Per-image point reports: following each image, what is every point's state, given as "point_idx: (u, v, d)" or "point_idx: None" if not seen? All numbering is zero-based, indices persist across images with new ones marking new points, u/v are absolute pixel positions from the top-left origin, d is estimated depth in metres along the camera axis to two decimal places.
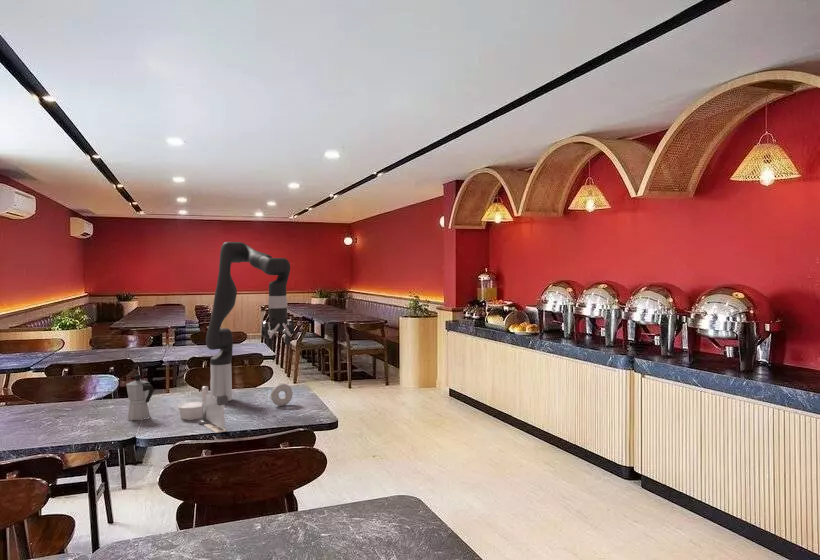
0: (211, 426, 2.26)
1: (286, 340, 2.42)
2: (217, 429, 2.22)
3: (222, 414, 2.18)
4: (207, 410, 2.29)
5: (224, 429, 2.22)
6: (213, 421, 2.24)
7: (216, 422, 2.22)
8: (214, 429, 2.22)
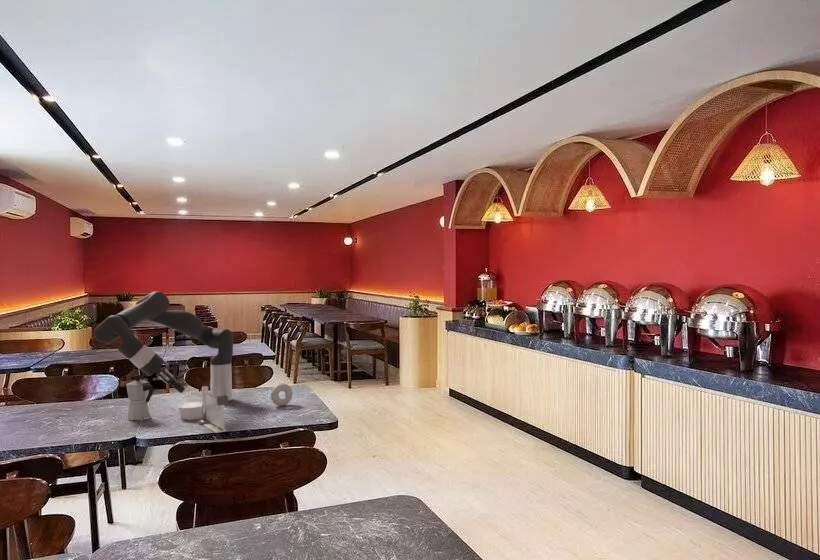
0: (211, 426, 2.26)
1: None
2: (217, 429, 2.22)
3: (222, 414, 2.18)
4: (207, 410, 2.29)
5: (224, 429, 2.22)
6: (213, 421, 2.24)
7: (216, 422, 2.22)
8: (214, 429, 2.22)
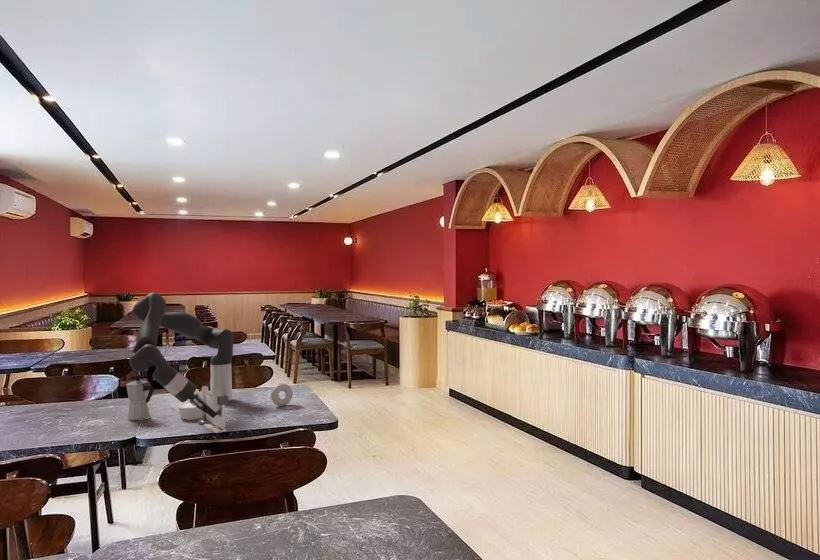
0: (211, 426, 2.26)
1: None
2: (217, 429, 2.22)
3: (223, 414, 2.18)
4: None
5: (224, 429, 2.22)
6: (213, 421, 2.24)
7: (216, 422, 2.22)
8: (214, 429, 2.22)
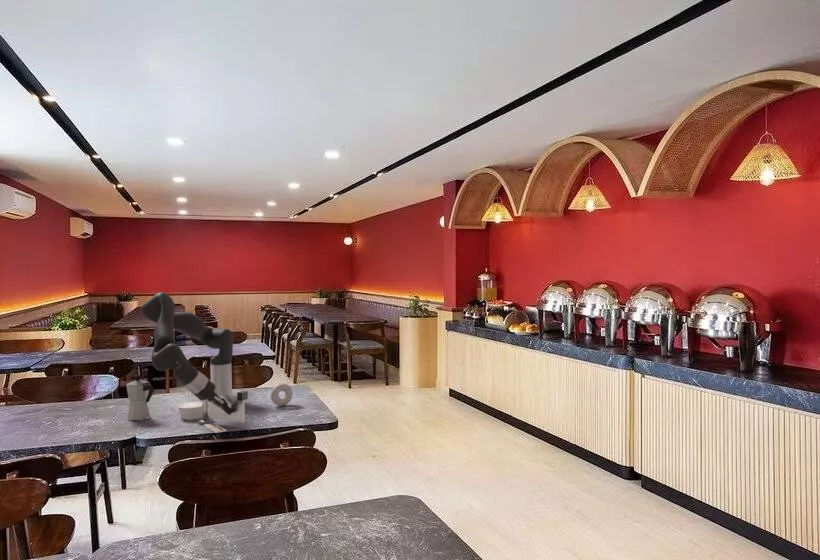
0: (211, 426, 2.26)
1: None
2: (217, 429, 2.22)
3: (243, 409, 2.25)
4: (211, 409, 2.31)
5: (224, 429, 2.22)
6: (225, 418, 2.28)
7: (231, 418, 2.27)
8: (214, 429, 2.22)
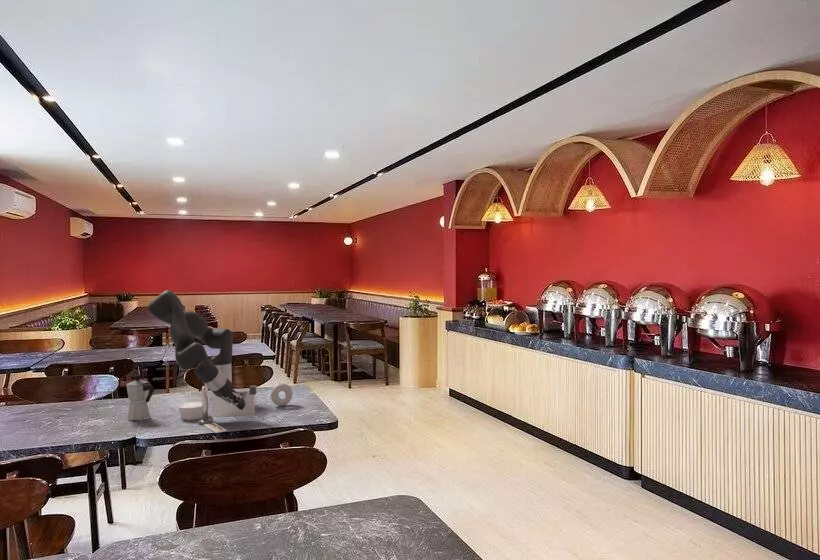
0: (211, 426, 2.26)
1: (239, 405, 2.32)
2: (217, 429, 2.22)
3: (254, 402, 2.35)
4: (214, 408, 2.33)
5: (224, 429, 2.22)
6: (232, 414, 2.34)
7: (240, 413, 2.34)
8: (214, 429, 2.22)
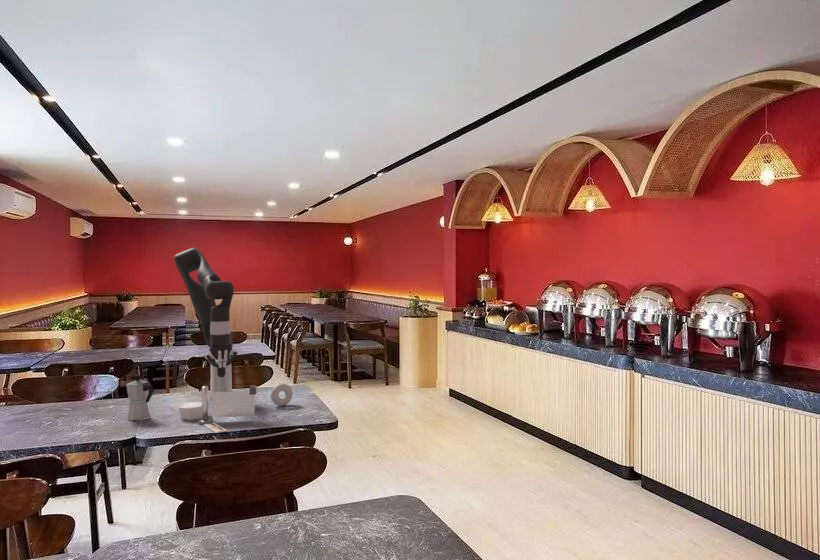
0: (211, 426, 2.26)
1: None
2: (217, 429, 2.22)
3: (254, 402, 2.35)
4: (214, 408, 2.33)
5: (224, 429, 2.22)
6: (232, 414, 2.34)
7: (240, 413, 2.34)
8: (214, 429, 2.22)
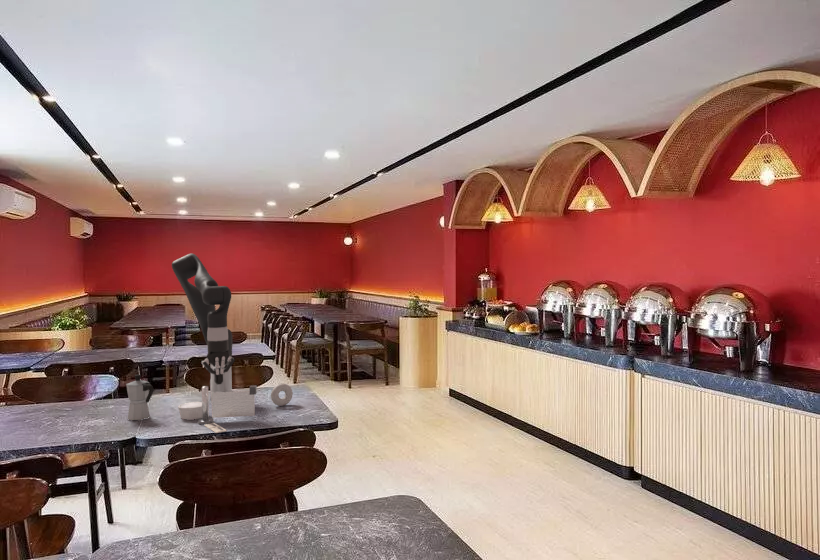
0: (211, 426, 2.26)
1: None
2: (217, 429, 2.22)
3: (254, 402, 2.35)
4: (214, 408, 2.33)
5: (224, 429, 2.22)
6: (232, 414, 2.34)
7: (240, 413, 2.34)
8: (214, 429, 2.22)
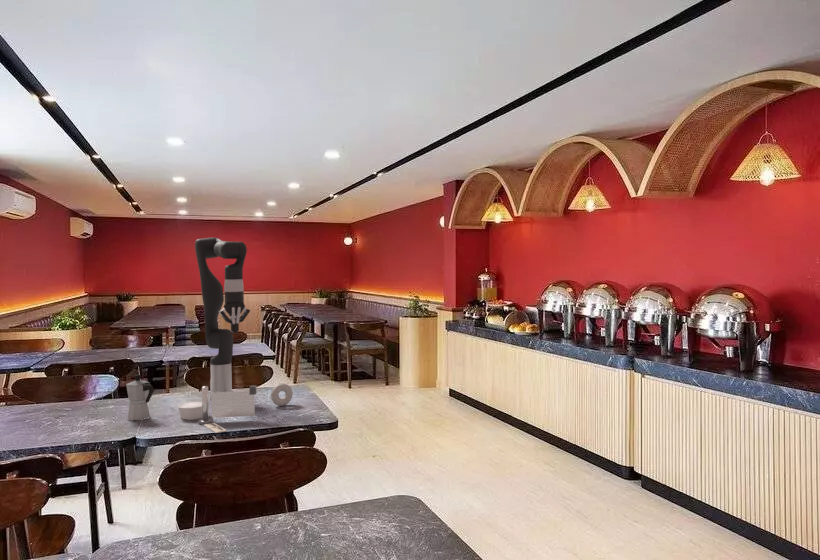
0: (211, 426, 2.26)
1: None
2: (217, 429, 2.22)
3: (254, 402, 2.35)
4: (214, 408, 2.33)
5: (224, 429, 2.22)
6: (232, 414, 2.34)
7: (240, 413, 2.34)
8: (214, 429, 2.22)
